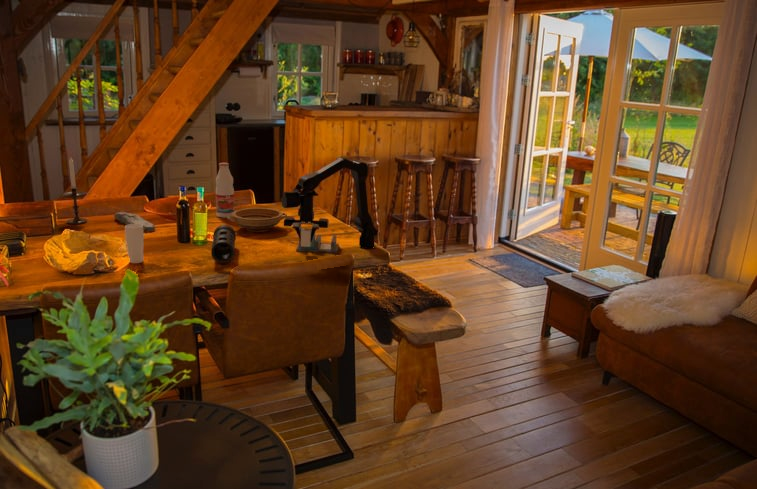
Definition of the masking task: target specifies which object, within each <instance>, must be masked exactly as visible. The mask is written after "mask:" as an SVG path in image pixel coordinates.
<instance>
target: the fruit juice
mask: <svg viewBox="0 0 757 489" xmlns="http://www.w3.org/2000/svg"><path fill="white" fill-rule="evenodd" d="M218 166H219V170H218V172H217V175H216V177H215V184H216V187H215V212H216V216H217V217H218V218H222V219H223V218H224V219H225V218H227V217H228V216H231V217H233V215H232V213H233V212H235V211H236V210H235V189H234V185H233V184H234V176H232V173H231V171H230V168H229V167H230V164H229V163H228V162H220V163H218Z"/></svg>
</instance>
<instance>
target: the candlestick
mask: <svg viewBox="0 0 757 489" xmlns="http://www.w3.org/2000/svg"><path fill="white" fill-rule="evenodd" d="M68 156H69V160H68V166H69V167H68V168H69V175H70V184H71V186H70V187H69V190H70V189H71V190H70V191H65V192H62V193H61V196H62V197H63V198H68V199H69V198H70V199H73V206H72V209H73V210H74V211H73V214H74V218H70V219H67V220H66V224H68V225H75V226H76V225H82V224H87V223H88V219H87V218H84V217H83V218H82V217H80V216H79V213H80V211H79V209H80V206H78V202H77V201H78V200H77V199H78V198H83V197H86V196H88V192H87V191H83V190H82V191H81V190H77V189H79V187H77V184H76V176H75V166H74V165H75V163H74V160H73V158H72V152H71V151H70V150H68Z"/></svg>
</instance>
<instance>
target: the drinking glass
mask: <svg viewBox="0 0 757 489" xmlns="http://www.w3.org/2000/svg"><path fill="white" fill-rule="evenodd" d="M144 233H145V232H144V231H143V225H141V224H128V225H126V224H125V226H124V236H125V243H126V247H127V254H128V259H129V258H130V262H129V263H131V264H140V263H143V262H144V242H145V240H144V238H145V237H144V236H145V235H144Z"/></svg>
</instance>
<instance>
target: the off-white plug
mask: <svg viewBox="0 0 757 489" xmlns="http://www.w3.org/2000/svg"><path fill="white" fill-rule="evenodd" d="M311 231H312V228H308V227H307V228H303V227H301V246H305V247H310V246H311Z"/></svg>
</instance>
